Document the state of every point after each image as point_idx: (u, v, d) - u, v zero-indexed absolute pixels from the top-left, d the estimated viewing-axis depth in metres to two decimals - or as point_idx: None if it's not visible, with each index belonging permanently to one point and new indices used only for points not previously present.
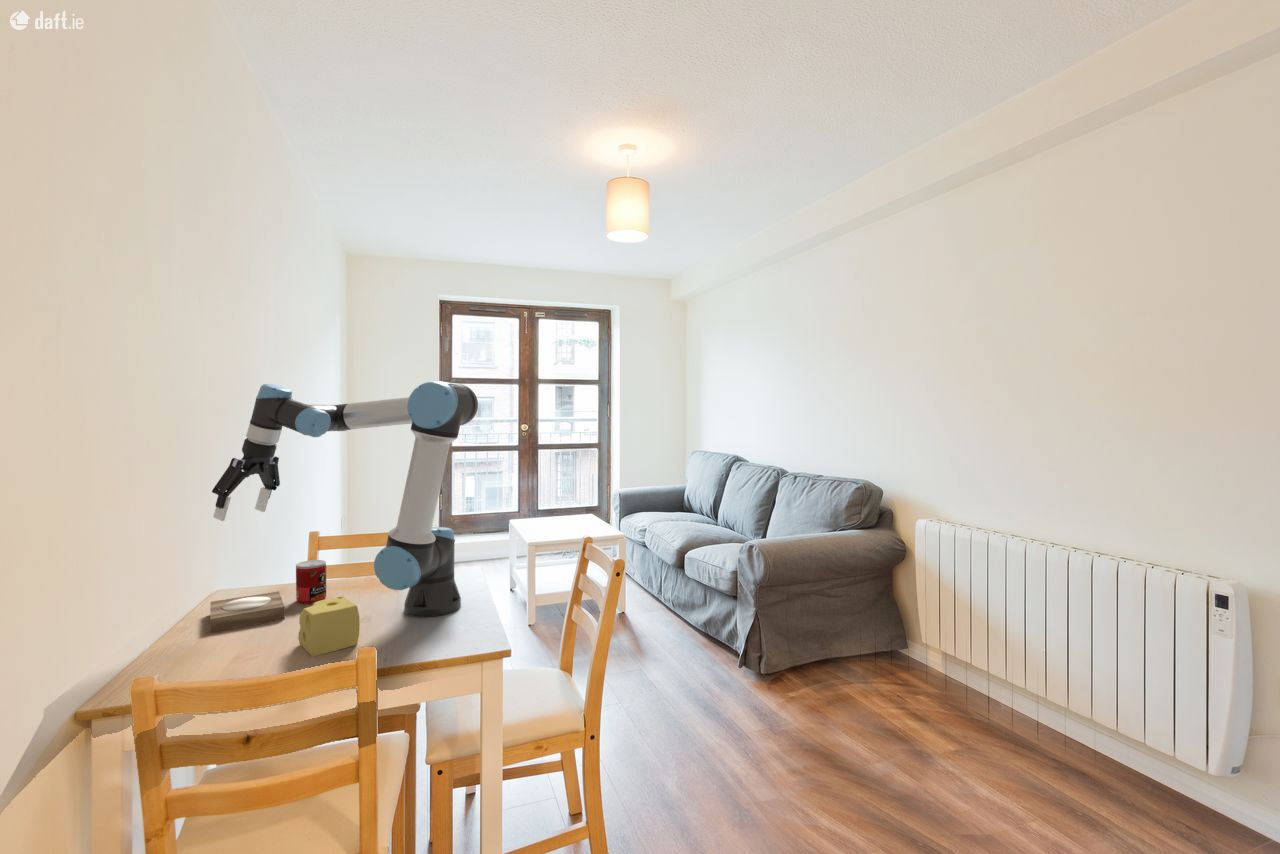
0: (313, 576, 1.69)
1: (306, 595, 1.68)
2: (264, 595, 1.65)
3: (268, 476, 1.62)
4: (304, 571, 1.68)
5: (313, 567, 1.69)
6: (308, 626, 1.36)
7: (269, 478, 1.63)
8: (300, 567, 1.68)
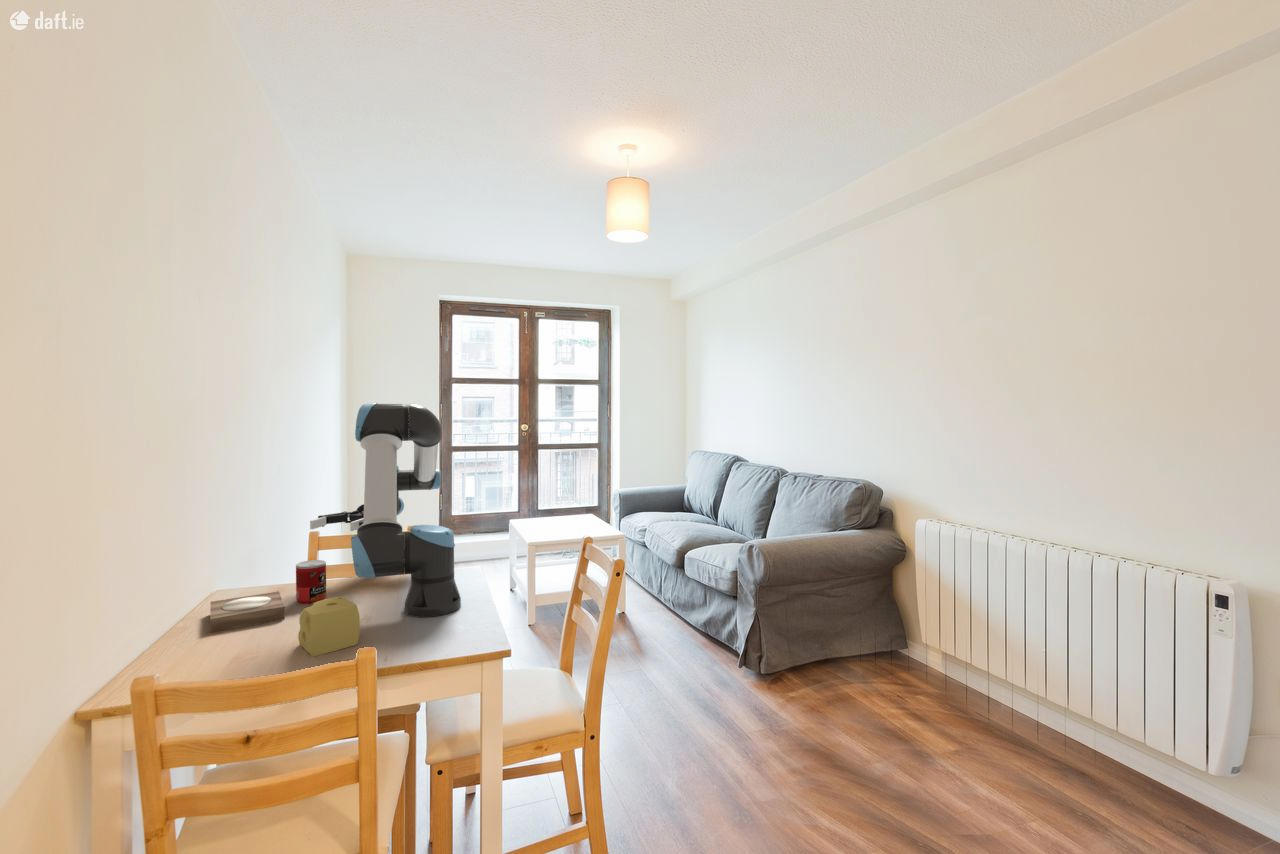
0: (313, 576, 1.69)
1: (306, 595, 1.68)
2: (264, 595, 1.65)
3: None
4: (304, 571, 1.68)
5: (313, 567, 1.69)
6: (308, 626, 1.36)
7: None
8: (300, 567, 1.68)
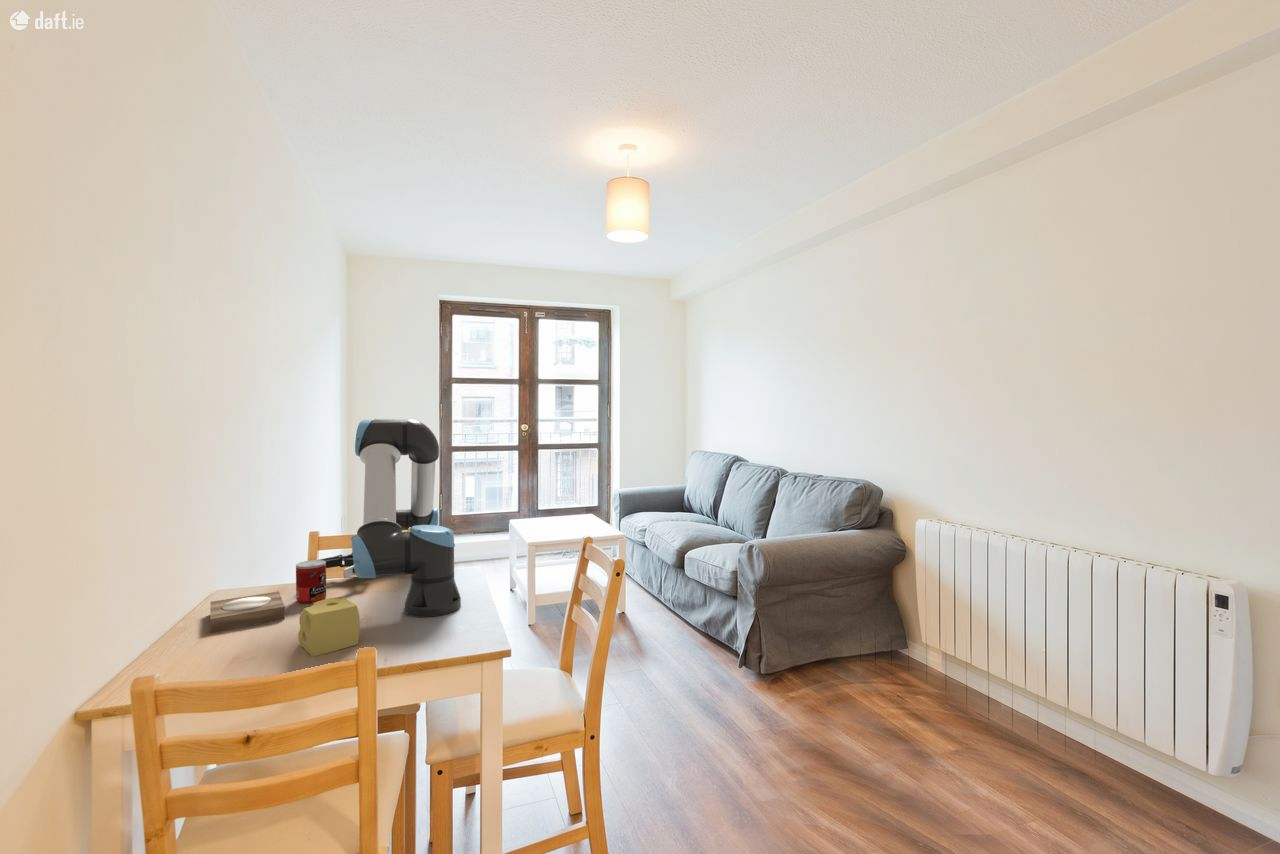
0: (313, 576, 1.69)
1: (306, 595, 1.68)
2: (264, 595, 1.65)
3: None
4: (304, 571, 1.68)
5: (313, 567, 1.69)
6: (308, 626, 1.36)
7: None
8: (300, 567, 1.68)
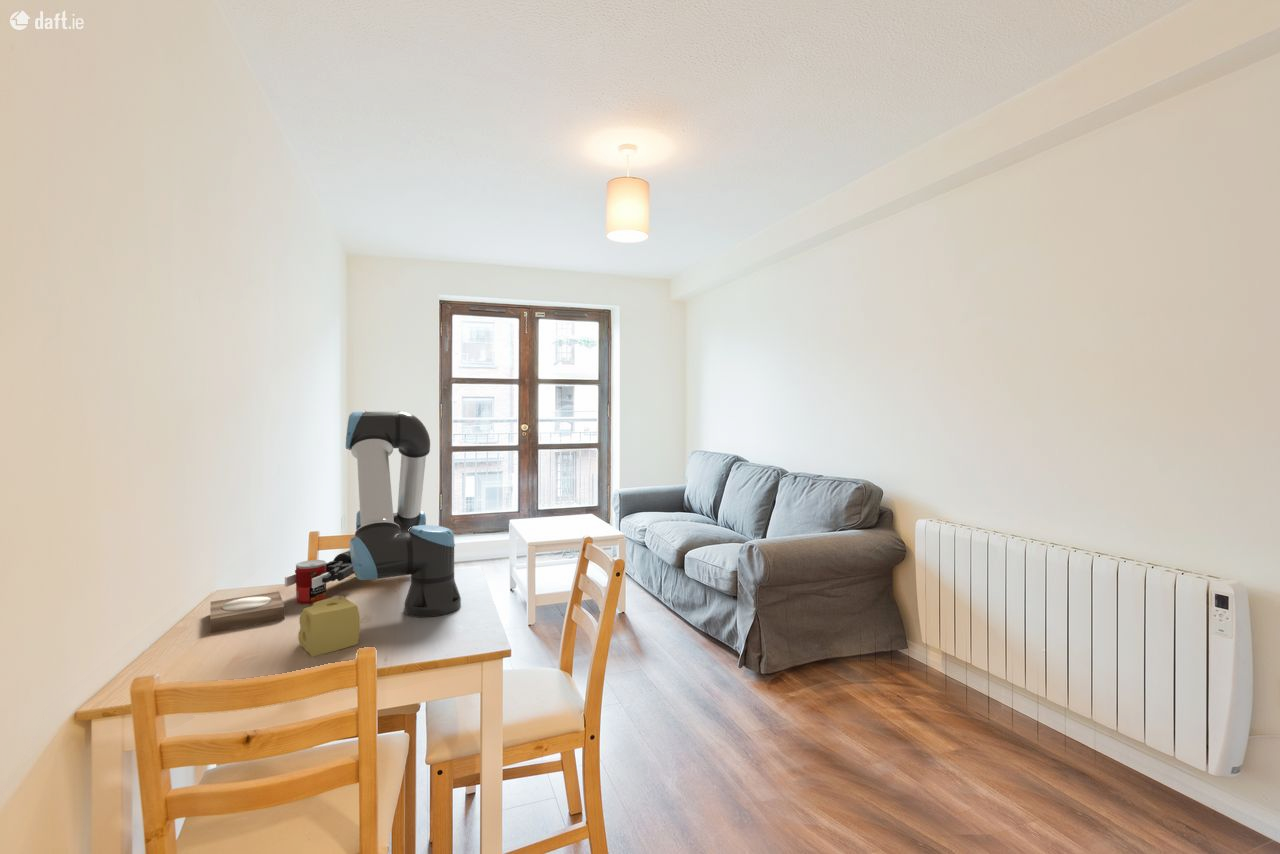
0: (313, 576, 1.69)
1: (306, 595, 1.68)
2: (264, 595, 1.65)
3: (337, 568, 1.78)
4: (304, 571, 1.68)
5: (313, 567, 1.69)
6: (308, 626, 1.36)
7: (336, 569, 1.77)
8: (300, 567, 1.68)
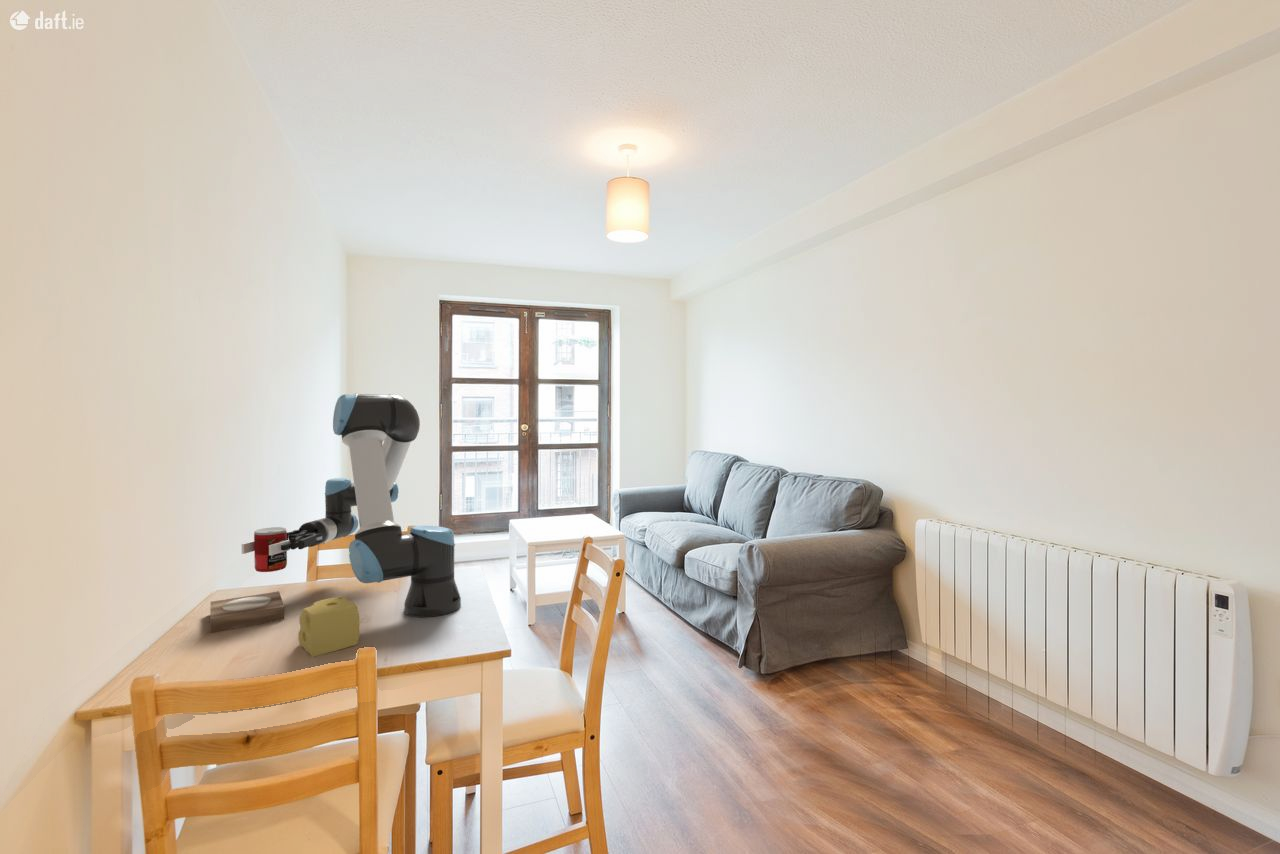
0: (271, 543, 1.60)
1: (264, 563, 1.60)
2: (264, 595, 1.65)
3: (299, 536, 1.70)
4: (261, 537, 1.60)
5: (271, 533, 1.60)
6: (308, 626, 1.36)
7: (298, 537, 1.69)
8: (257, 534, 1.60)
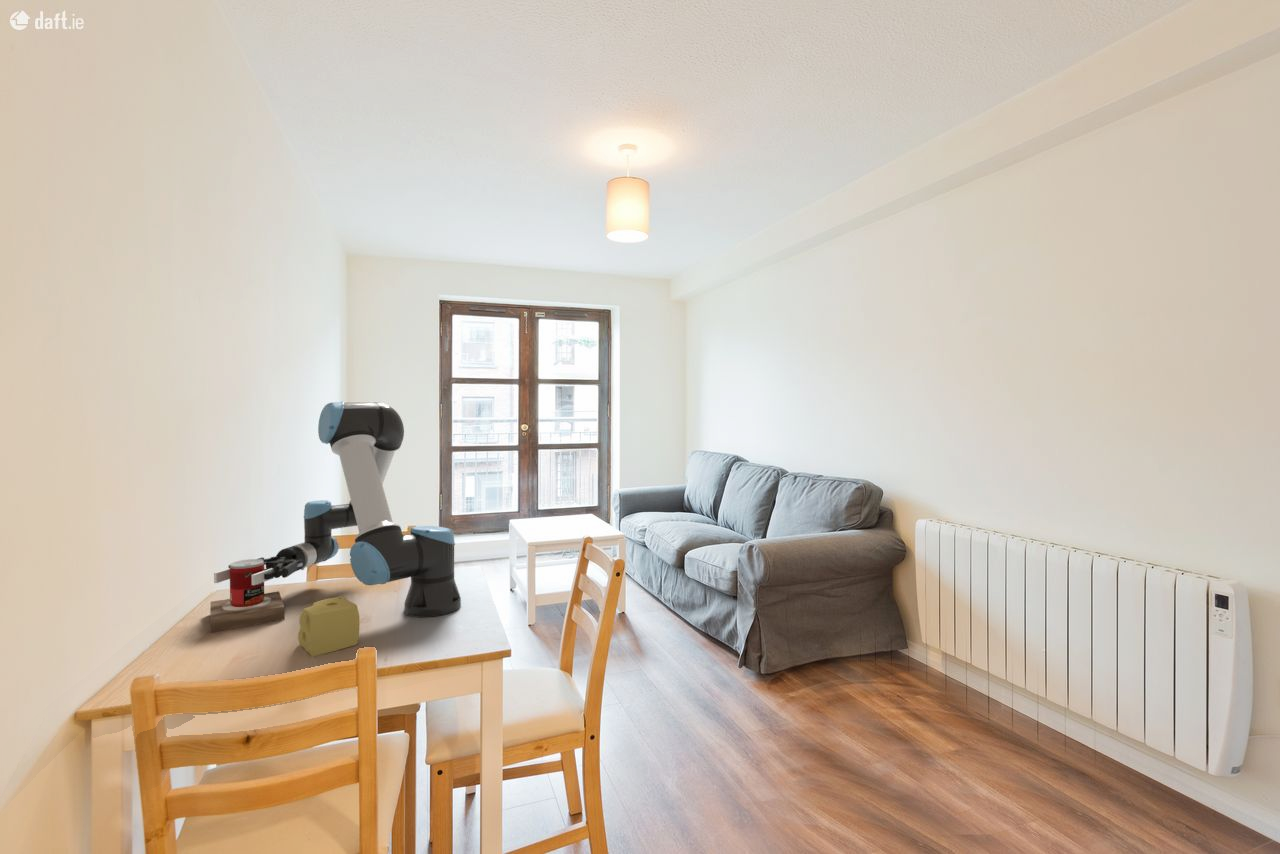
0: (248, 577, 1.54)
1: (240, 598, 1.54)
2: (264, 595, 1.65)
3: (280, 564, 1.64)
4: (237, 571, 1.53)
5: (248, 567, 1.54)
6: (308, 626, 1.36)
7: (280, 565, 1.63)
8: (233, 567, 1.54)
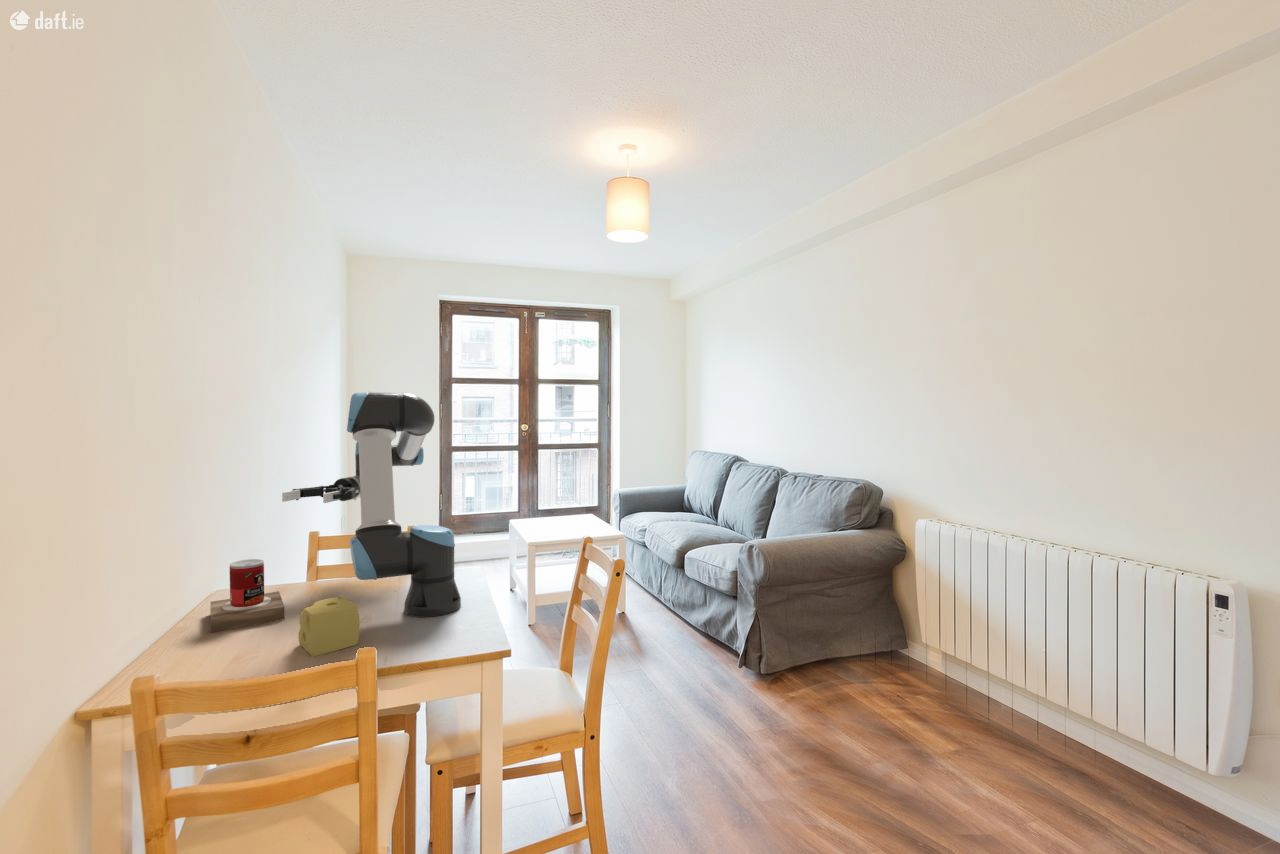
0: (248, 577, 1.54)
1: (240, 598, 1.54)
2: (264, 595, 1.65)
3: None
4: (237, 571, 1.53)
5: (248, 567, 1.54)
6: (308, 626, 1.36)
7: None
8: (233, 567, 1.54)
